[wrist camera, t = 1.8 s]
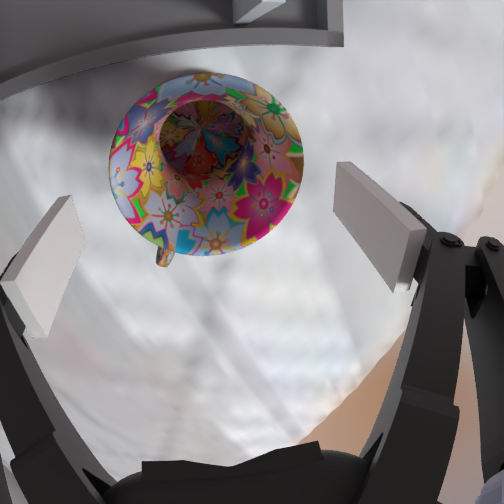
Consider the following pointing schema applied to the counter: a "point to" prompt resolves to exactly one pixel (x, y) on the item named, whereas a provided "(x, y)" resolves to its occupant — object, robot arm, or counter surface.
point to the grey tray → (142, 33)
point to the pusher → (252, 9)
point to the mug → (205, 165)
